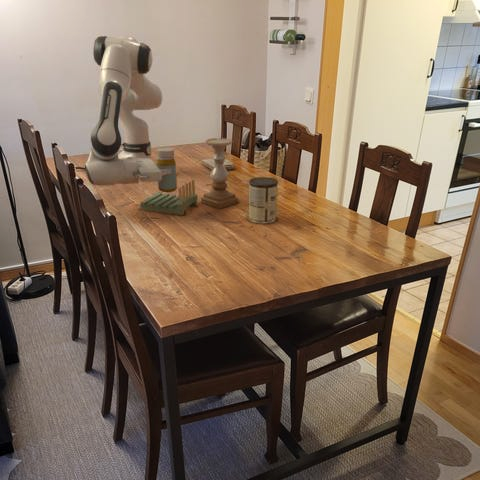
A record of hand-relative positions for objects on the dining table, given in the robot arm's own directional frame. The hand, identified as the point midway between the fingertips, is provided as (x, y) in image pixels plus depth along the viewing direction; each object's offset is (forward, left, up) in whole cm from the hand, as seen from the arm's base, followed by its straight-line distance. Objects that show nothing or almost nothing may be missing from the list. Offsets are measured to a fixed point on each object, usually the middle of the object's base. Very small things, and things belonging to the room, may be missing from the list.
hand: (168, 168), depth 181 cm
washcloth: (-8, +65, -15) cm, 68 cm away
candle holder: (+15, +12, -15) cm, 25 cm away
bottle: (-1, -1, -8) cm, 8 cm away
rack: (-1, -1, -15) cm, 15 cm away
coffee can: (+37, 0, -15) cm, 40 cm away
